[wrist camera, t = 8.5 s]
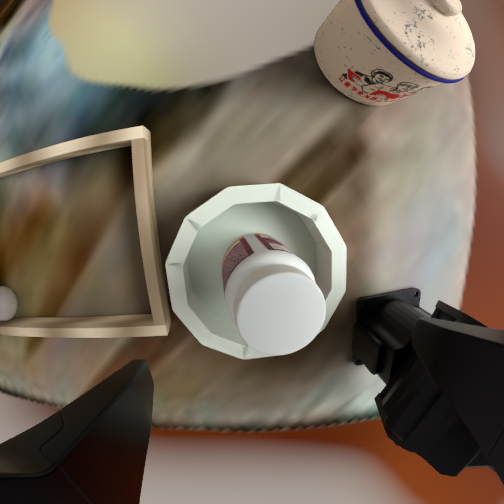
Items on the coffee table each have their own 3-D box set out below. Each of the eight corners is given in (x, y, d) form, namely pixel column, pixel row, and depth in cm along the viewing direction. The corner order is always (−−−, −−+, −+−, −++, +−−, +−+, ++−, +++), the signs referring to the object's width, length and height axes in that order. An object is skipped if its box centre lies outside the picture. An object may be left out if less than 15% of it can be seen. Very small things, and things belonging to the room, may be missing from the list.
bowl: (323, 182, 21) (344, 181, 17) (325, 321, 23) (342, 344, 19) (168, 193, 20) (157, 193, 16) (187, 338, 22) (183, 364, 18)
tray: (150, 131, 18) (143, 125, 16) (171, 321, 21) (167, 335, 19) (-24, 178, 17) (-39, 178, 15) (2, 324, 20) (-10, 333, 18)
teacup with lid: (321, 109, 20) (414, 49, 8) (299, 12, 18) (353, -78, 6) (438, 114, 21) (537, 95, 9) (415, 30, 19) (493, -15, 7)
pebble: (18, 280, 19) (-1, 291, 16) (27, 313, 20) (9, 326, 17) (-3, 282, 19) (-21, 292, 16) (6, 313, 20) (-12, 325, 17)
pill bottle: (232, 306, 21) (244, 376, 13) (212, 243, 20) (211, 283, 12) (296, 286, 21) (341, 343, 13) (279, 223, 20) (323, 248, 12)
